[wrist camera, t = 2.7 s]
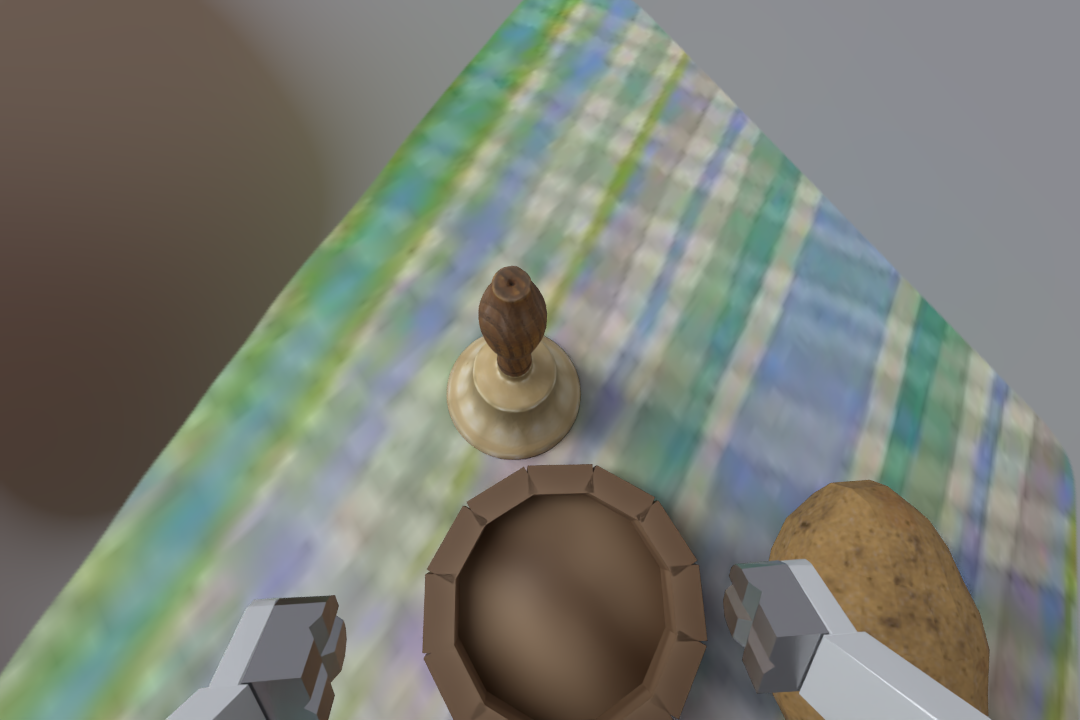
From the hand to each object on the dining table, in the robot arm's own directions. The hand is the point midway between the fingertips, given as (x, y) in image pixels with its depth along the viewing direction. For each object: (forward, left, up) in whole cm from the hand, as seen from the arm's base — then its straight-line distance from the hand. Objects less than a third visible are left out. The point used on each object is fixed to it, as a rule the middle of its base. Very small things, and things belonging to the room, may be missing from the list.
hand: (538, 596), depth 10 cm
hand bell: (+8, +5, -19) cm, 21 cm away
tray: (-1, -3, -19) cm, 19 cm away
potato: (+5, -16, -19) cm, 26 cm away
